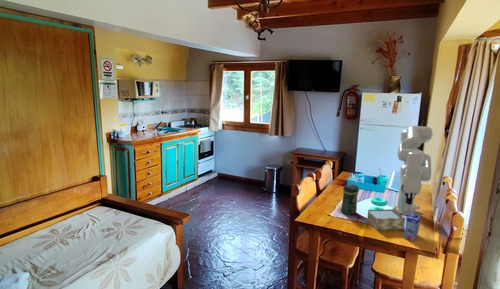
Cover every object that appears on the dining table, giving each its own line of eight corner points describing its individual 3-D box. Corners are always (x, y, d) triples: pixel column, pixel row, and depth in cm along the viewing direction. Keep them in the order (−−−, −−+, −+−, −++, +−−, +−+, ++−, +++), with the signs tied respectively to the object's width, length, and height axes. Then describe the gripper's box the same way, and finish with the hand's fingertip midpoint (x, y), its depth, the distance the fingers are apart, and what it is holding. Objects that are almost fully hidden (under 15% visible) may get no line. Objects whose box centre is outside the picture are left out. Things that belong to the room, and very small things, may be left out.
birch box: (392, 220, 183) (393, 209, 181) (403, 230, 171) (405, 218, 169) (367, 221, 181) (368, 209, 180) (376, 230, 169) (378, 218, 168)
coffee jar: (349, 216, 187) (352, 188, 184) (339, 211, 194) (341, 184, 190) (358, 212, 193) (361, 185, 189) (348, 208, 199) (350, 182, 195)
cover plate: (394, 212, 181) (394, 206, 180) (404, 219, 170) (404, 214, 170) (368, 212, 179) (369, 207, 178) (377, 220, 169) (377, 214, 168)
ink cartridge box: (414, 241, 159) (418, 216, 156) (403, 238, 162) (406, 213, 159) (418, 234, 166) (422, 210, 163) (407, 231, 169) (410, 207, 166)
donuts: (390, 202, 185) (374, 202, 185) (389, 217, 187) (373, 217, 187) (383, 196, 195) (368, 196, 195) (382, 210, 197) (366, 210, 197)
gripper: (420, 171, 175) (416, 201, 178) (396, 171, 173) (392, 201, 177) (429, 175, 167) (425, 206, 171) (404, 175, 166) (400, 206, 169)
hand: (408, 203), depth 174 cm, fingers closed
